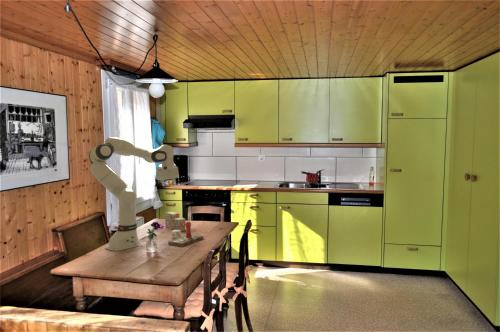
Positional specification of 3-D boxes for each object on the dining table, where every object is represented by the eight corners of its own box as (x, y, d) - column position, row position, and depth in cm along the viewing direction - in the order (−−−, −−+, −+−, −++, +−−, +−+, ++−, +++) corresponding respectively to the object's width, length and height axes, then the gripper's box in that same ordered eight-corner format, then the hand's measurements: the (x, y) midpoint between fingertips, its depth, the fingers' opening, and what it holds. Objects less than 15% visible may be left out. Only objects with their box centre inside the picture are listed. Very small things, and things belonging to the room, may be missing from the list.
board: (181, 246, 260) (181, 243, 260) (168, 244, 266) (168, 241, 266) (203, 238, 279) (203, 235, 279) (190, 236, 286) (190, 233, 285)
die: (176, 238, 281) (176, 231, 280) (171, 237, 283) (170, 230, 283) (181, 237, 285) (181, 230, 285) (176, 236, 288) (175, 229, 287)
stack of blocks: (185, 230, 305) (185, 214, 304) (178, 231, 301) (178, 216, 300) (172, 225, 322) (171, 211, 321) (165, 227, 317) (164, 212, 317)
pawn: (189, 238, 272) (188, 222, 271) (184, 237, 274) (183, 222, 273) (193, 236, 276) (192, 221, 275) (188, 236, 278) (187, 220, 277)
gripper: (174, 165, 299) (174, 183, 301) (154, 167, 282) (155, 186, 283) (180, 165, 296) (181, 183, 297) (160, 167, 279) (161, 187, 280)
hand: (168, 185), depth 290 cm, fingers open, 8 cm apart
